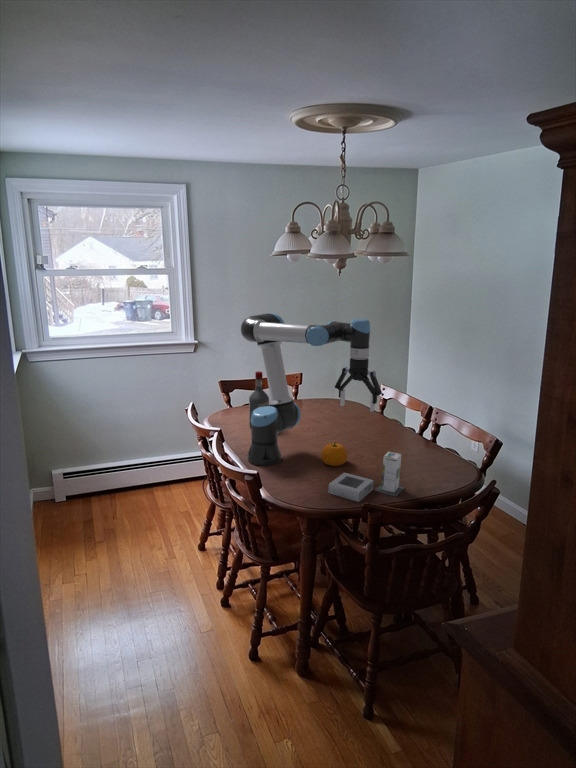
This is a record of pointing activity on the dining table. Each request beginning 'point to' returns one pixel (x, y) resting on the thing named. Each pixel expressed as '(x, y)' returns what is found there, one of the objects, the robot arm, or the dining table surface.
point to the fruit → (334, 454)
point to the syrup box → (391, 472)
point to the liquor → (257, 396)
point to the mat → (389, 492)
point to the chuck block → (355, 494)
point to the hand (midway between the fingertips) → (357, 408)
